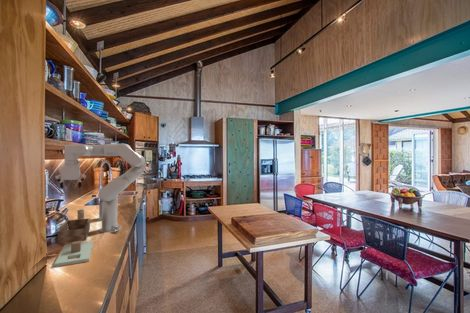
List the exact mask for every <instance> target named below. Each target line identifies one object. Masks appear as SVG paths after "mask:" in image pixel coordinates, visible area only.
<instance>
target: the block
mask: <svg viewBox="0 0 470 313" xmlns="http://www.w3.org/2000/svg"><path fill="white" fill-rule="evenodd" d="M85 217H86V209H85V208H78V209H77V219H86V218H85Z"/></svg>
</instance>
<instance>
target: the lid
mask: <svg viewBox="0 0 470 313" xmlns="http://www.w3.org/2000/svg"><path fill="white" fill-rule="evenodd" d="M93 245H94V240H91V241H90V240H89V241H84V242H83V241H74V242H71V243H69V244H68V243H66V244H64V245H63V247H62V249H61V251H60V252H59V254H58V256H57V258H56V260H55V262H54V264H53V266H54V268H58V267H62V266H68V265H73V264H75V265H76V264H79V263H80V264H81V263H87V262H90V260H91V259H90V258H91V255H92V249H93Z"/></svg>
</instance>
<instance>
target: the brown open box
mask: <svg viewBox="0 0 470 313" xmlns="http://www.w3.org/2000/svg"><path fill="white" fill-rule="evenodd" d="M67 224H68V226H69V230H67ZM90 229H91V218H88V217H87V218H85V219H67V221H66V220H65V221H64V223H63V224H62V225H61V226H60V228H59V230H58V231H57V245H58V244H59V245H60V244H68V243H69V244H70V243H72V242H74V241H81V242H83V241H84V242H85V241H86V240H87V238H88V236H89V232H90Z"/></svg>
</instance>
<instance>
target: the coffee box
mask: <svg viewBox="0 0 470 313" xmlns="http://www.w3.org/2000/svg"><path fill="white" fill-rule="evenodd" d="M102 202H103V201H101V200H100V199H99V201H98V203H99V204H98V205H99V210H98V211H99V212H98V215H99V216H98V218H99V221H102Z"/></svg>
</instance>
